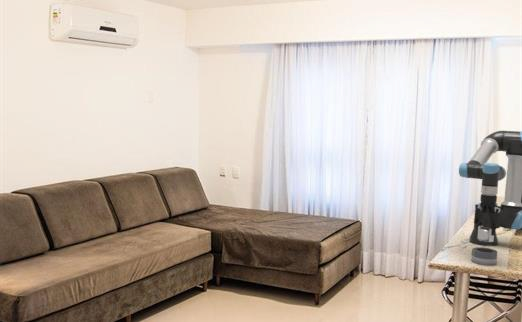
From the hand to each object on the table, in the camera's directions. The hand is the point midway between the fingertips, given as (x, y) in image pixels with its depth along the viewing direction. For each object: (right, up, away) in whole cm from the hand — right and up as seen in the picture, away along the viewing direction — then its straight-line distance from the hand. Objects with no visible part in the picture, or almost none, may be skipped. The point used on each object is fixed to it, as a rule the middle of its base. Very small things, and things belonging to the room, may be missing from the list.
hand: (485, 240), depth 291 cm
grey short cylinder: (0, -11, +1) cm, 11 cm away
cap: (0, 0, 0) cm, 0 cm away
